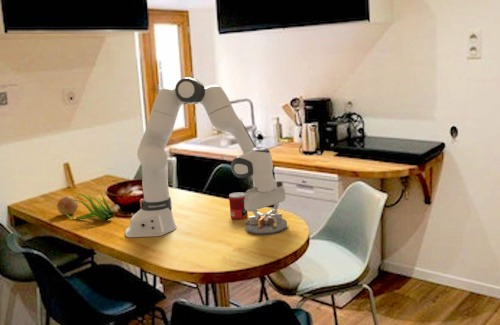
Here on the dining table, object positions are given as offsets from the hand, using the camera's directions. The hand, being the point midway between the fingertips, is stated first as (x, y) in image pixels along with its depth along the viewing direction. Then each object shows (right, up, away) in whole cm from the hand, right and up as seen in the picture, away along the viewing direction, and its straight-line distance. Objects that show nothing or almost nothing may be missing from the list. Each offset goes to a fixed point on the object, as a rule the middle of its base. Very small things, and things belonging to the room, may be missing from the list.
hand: (266, 216), depth 226 cm
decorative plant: (-88, -5, +31) cm, 93 cm away
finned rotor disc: (0, -3, 0) cm, 3 cm away
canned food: (-12, -3, +17) cm, 21 cm away
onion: (-99, -4, +41) cm, 108 cm away
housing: (0, -5, +1) cm, 5 cm away
